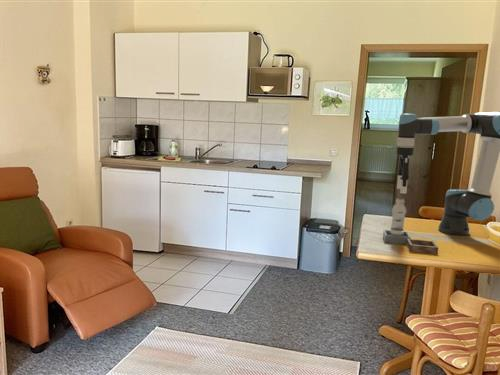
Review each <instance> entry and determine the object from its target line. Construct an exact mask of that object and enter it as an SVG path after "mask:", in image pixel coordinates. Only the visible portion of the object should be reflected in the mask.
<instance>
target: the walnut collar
mask: <svg viewBox="0 0 500 375" xmlns="http://www.w3.org/2000/svg"><path fill="white" fill-rule="evenodd" d="M405 245H406V247H407V249H408V251H409V252H414V253H424V254H434V255H435V254H436V255H438V253H439V246H438V245H437V244H436V242H435V241H434V240H429V239H426V240H425V239H415V238H411V239H407V242H406V244H405Z"/></svg>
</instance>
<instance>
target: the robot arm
mask: <svg viewBox="0 0 500 375" xmlns="http://www.w3.org/2000/svg"><path fill="white" fill-rule="evenodd" d="M398 119H399V121H398V129H397V131H398V132H397V139H396V140H395V142H396V144H397V147H396V155H397V156H399V161H398V168H397V182H396V183H397V184H396V189H397V190H400V192H399V194H404V195H405V194H407V191H408V190H407V189H408V180H409V178H410V177H409V173H410V172H409V170H410V169H409V167H410V165H409V164H410V157H411V156H414V147H415V138H416V137H415V136H416V135H429V136H431V135H437V134H439V133H444V132H445V133H447V132H461V133H464V134H466V133H467V134H477V135H480V139H481V140H482V143H481V146H480V150H479V154H478V159H477V163H476V166H475V170H474V173H473V177H472V182H471V185H470V188H468V189H448V190H447V191H446V193H445V197H444V198H445V199H444V207H443V208H444V209H443V215H442V219H441V221H440V223H439V225H438V231H439V232H442V233H445V234H448V235H449V234H450V235H456V236H465V235H466V236H467V235H469V234H470V227H469V221H468V218H470V219H471V220H475V221H476V220H477V221H485V220H486V219H488V218H490V217H491V216H492V214H493V213H494V210H495V204H494V202H493V200H492V196H493V195H492V193H491V187H492V182H493V179H494V176H495V172H496V167H497V163H498V160H499V156H500V111H481V112H474V113H463V114H462V115H461V116H459V115H458V116H433V117H432V116H431V117H417V114H416V113H401V114H400V115H399V118H398Z"/></svg>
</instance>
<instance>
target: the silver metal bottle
mask: <svg viewBox="0 0 500 375" xmlns="http://www.w3.org/2000/svg"><path fill="white" fill-rule="evenodd" d="M391 211H392V212H391V214H392V216H391V217H392V218H391V219H392V220H391V226H390V229H389V230H390V233H389V235H394V236H404V232H405V231H404V223H405V218H406V214H407V208H406V206H405V199H404V198H398V197H397V198H396V200H395V204H394V205H393V206H392V209H391Z"/></svg>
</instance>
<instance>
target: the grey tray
mask: <svg viewBox="0 0 500 375" xmlns="http://www.w3.org/2000/svg"><path fill="white" fill-rule="evenodd" d="M389 233H390V229H389V230H388V229H383V234H382V237H383V242H384V243H387V244H389V243H391V244H401V245H406V242H407V239H412V237H411V235H410V234H409V232H408V231H404V236H394V235H389Z"/></svg>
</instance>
